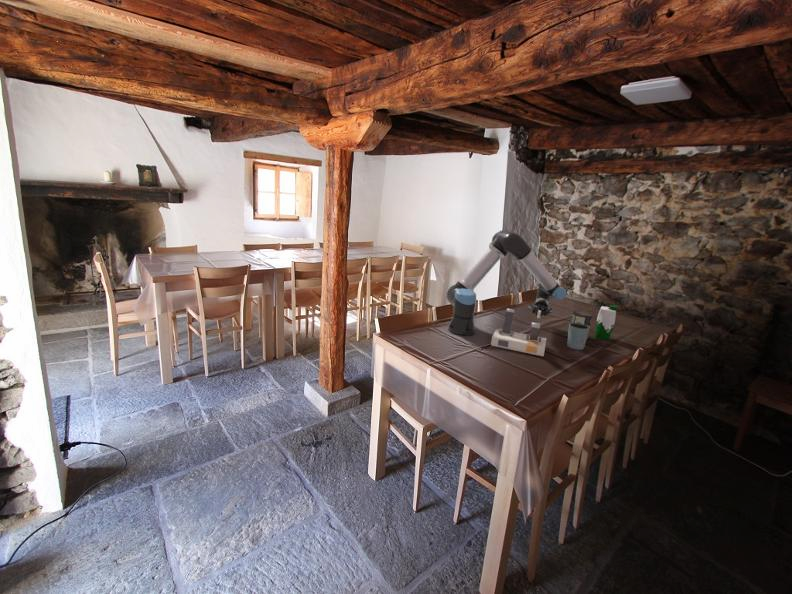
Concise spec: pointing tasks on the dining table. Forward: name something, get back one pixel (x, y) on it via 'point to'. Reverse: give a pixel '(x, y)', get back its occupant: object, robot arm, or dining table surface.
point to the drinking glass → (577, 335)
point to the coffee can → (582, 318)
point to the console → (518, 342)
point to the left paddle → (508, 320)
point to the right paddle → (534, 331)
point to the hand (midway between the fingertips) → (538, 315)
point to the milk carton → (605, 322)
